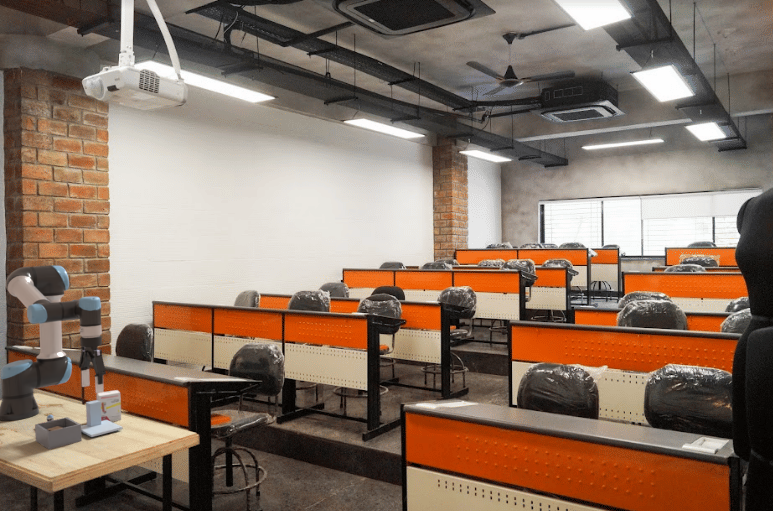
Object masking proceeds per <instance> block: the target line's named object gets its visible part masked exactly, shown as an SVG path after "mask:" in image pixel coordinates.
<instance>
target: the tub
mask: <svg viewBox="0 0 773 511" xmlns="http://www.w3.org/2000/svg"><path fill="white" fill-rule="evenodd" d="M34 426H35V427H34V429H35V430H34V431H35V435H34V436H35V442H36V443H37V444H40V445H41V446H42V447H44V448H46V449H47V450H52V449H56V448H61V447H64V446H68V445H71V444H77V443H81V442H82V441H83V440H82V438H83V437H82V432H81V426H82V424H81V423H79V422H77V421H76V420H74V419H71V418H70V417H68V416H67V417H61V418H59V419H58V418H57V419H54V420H53V421H48V422H47V421H44V423H43V422H40V423H36V424H34ZM57 426H59V427H62V428H61V429H57V430H53V431H49V430H47V429H50V428H53V427H57Z"/></svg>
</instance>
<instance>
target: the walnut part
mask: <svg viewBox="0 0 773 511" xmlns="http://www.w3.org/2000/svg"><path fill="white" fill-rule="evenodd" d="M61 428H62V427H59V426H57V427H53V428H50V429H47V430H49V431H53V430H57V429H61Z"/></svg>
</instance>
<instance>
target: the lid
mask: <svg viewBox="0 0 773 511" xmlns="http://www.w3.org/2000/svg"><path fill="white" fill-rule="evenodd" d="M85 408H86V410H85V412H86V424H85V425H81V433H83V434H84V435H87V436H89V437H91V438H94V437H97V436H100V435H101V436H102V435H105V434H108V433H112V432H116V431H117V432H118V431H121V430H123V426H121V425H119V424H117V423H115V422H114V421H113V422H111V421H108V420H104V421H101V402H100V401H98V400H97V399H95V400H91V401H86V402H85Z"/></svg>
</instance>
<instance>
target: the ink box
mask: <svg viewBox="0 0 773 511" xmlns="http://www.w3.org/2000/svg"><path fill="white" fill-rule="evenodd" d="M95 394H96V400H98V401H100V402H101V421H104V420H108V421H111V422H113V423H114V422H117V421H121V420H122V404H121V403H122V402H121V400H122V399H121V392H120V391H119V390H118V389H116V390H110V391H104V392H100V393H95Z"/></svg>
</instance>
